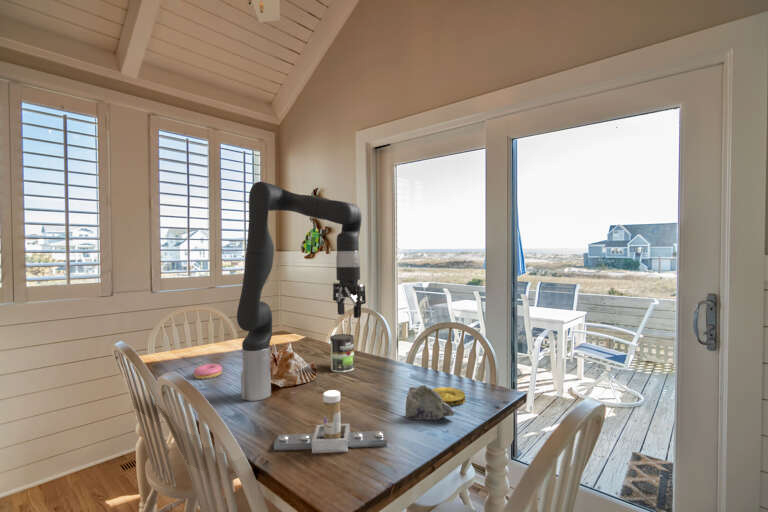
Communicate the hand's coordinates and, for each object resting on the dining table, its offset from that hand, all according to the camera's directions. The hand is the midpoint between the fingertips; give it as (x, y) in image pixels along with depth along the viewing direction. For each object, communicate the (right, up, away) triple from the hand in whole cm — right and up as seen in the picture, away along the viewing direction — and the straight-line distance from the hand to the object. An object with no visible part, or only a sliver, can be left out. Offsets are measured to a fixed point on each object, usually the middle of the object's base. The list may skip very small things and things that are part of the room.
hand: (349, 316), depth 119 cm
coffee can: (-7, -30, +42) cm, 52 cm away
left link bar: (-12, -31, -21) cm, 39 cm away
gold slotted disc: (+32, -30, +7) cm, 44 cm away
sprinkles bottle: (-2, -30, -21) cm, 37 cm away
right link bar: (+7, -30, -20) cm, 37 cm away
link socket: (-3, -30, -21) cm, 37 cm away
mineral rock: (+24, -30, -8) cm, 39 cm away
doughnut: (-63, -31, +37) cm, 79 cm away
